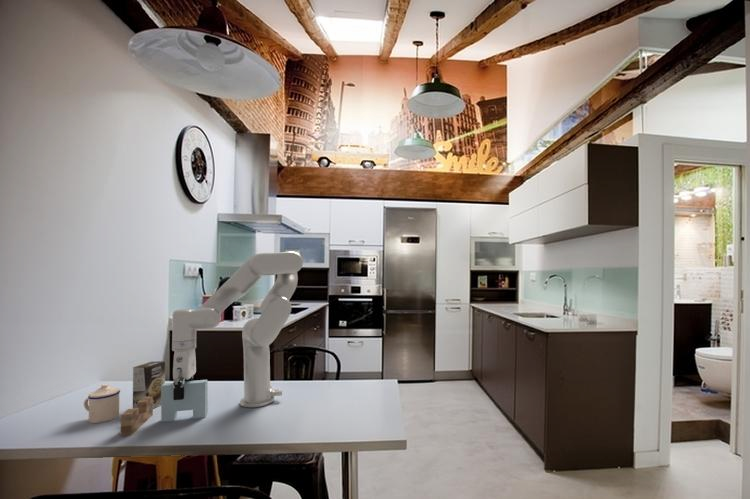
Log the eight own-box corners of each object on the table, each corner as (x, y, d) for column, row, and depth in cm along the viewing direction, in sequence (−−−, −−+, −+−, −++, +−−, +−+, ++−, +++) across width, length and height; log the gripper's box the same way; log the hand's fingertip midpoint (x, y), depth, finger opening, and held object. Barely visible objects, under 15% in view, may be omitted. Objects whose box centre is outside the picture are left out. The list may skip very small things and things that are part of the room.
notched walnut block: (143, 415, 128) (143, 397, 128) (152, 415, 129) (152, 396, 129) (120, 436, 112) (120, 414, 113) (131, 435, 113) (131, 413, 113)
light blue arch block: (207, 413, 128) (207, 379, 129) (205, 417, 125) (205, 382, 126) (164, 418, 125) (164, 383, 126) (161, 421, 122) (161, 385, 123)
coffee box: (146, 412, 131) (146, 367, 132) (131, 411, 133) (132, 367, 134) (165, 403, 140) (165, 360, 141) (151, 402, 142) (151, 360, 142)
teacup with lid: (126, 413, 131) (126, 380, 132) (105, 423, 122) (105, 388, 123) (95, 413, 132) (95, 380, 133) (72, 423, 123) (73, 389, 124)
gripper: (188, 349, 119) (187, 402, 118) (202, 339, 136) (202, 386, 134) (163, 350, 117) (162, 404, 116) (181, 340, 134) (180, 387, 133)
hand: (183, 394), depth 125 cm, fingers open, 9 cm apart
